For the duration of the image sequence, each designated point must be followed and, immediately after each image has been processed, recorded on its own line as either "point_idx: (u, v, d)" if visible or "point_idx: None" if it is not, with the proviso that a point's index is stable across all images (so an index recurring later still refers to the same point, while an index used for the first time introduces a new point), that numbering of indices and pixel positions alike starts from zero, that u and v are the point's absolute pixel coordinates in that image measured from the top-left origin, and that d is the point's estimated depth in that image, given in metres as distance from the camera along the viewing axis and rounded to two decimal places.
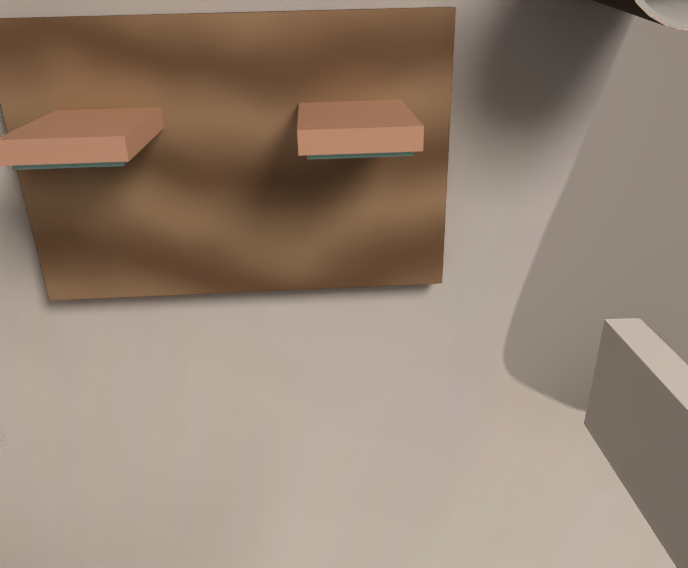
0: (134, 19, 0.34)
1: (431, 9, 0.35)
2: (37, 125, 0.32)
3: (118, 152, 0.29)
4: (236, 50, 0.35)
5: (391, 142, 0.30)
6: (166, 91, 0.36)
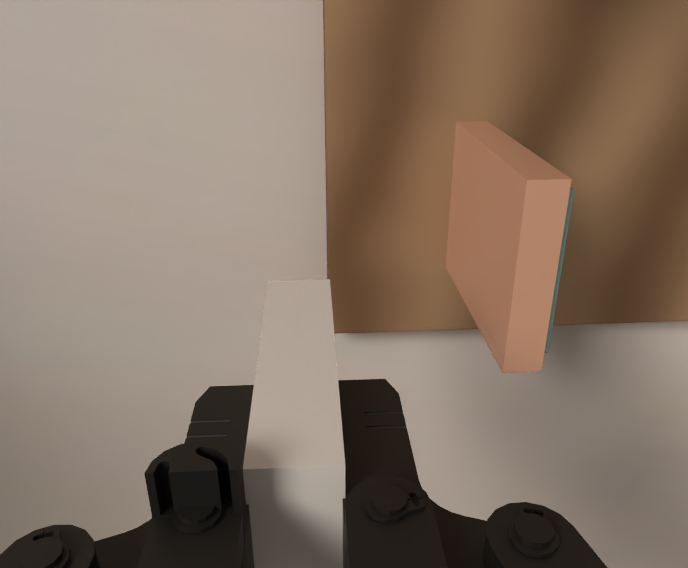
0: (332, 143, 0.24)
1: None
2: (475, 300, 0.22)
3: (553, 194, 0.17)
4: None
5: None
6: (434, 110, 0.23)
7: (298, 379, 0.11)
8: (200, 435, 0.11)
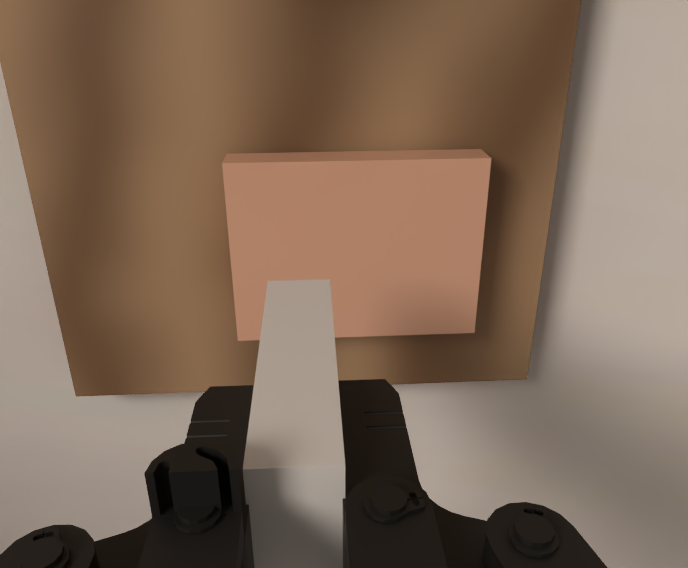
0: (33, 178, 0.20)
1: None
2: (373, 317, 0.21)
3: None
4: None
5: None
6: (152, 139, 0.19)
7: (298, 379, 0.11)
8: (200, 435, 0.11)
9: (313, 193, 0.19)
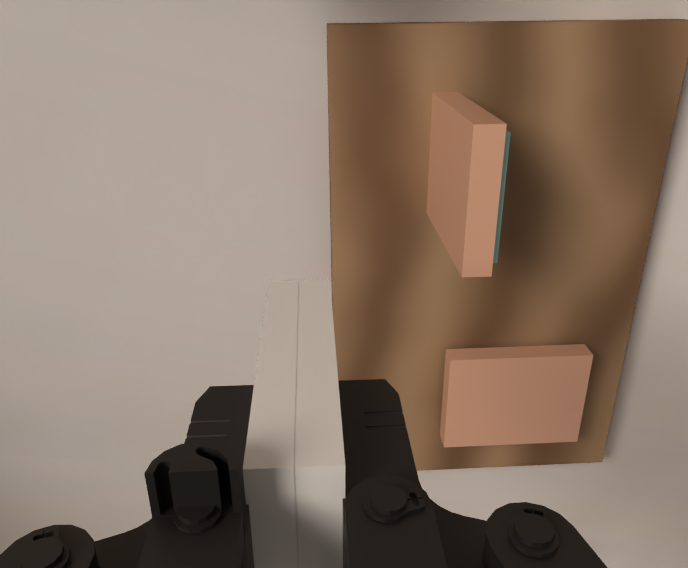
0: (337, 361, 0.35)
1: (329, 56, 0.29)
2: (521, 434, 0.37)
3: None
4: (368, 274, 0.33)
5: (489, 166, 0.23)
6: (405, 341, 0.35)
7: (298, 379, 0.11)
8: (200, 435, 0.11)
9: (496, 373, 0.35)
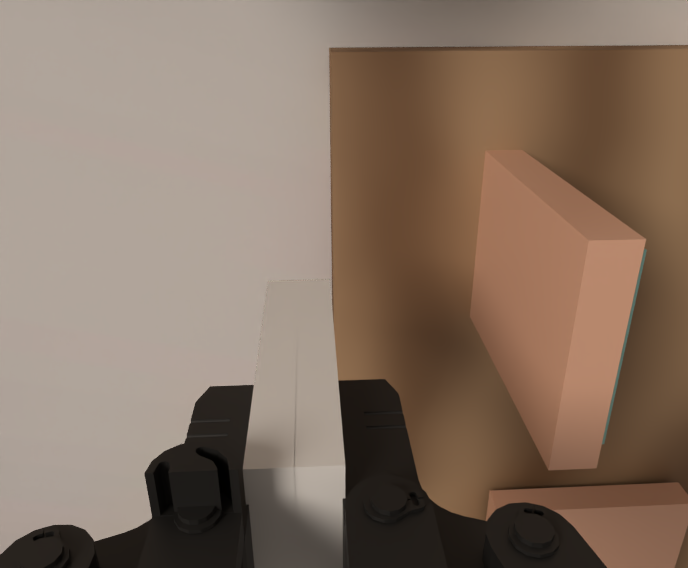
0: None
1: (334, 99, 0.19)
2: None
3: None
4: None
5: (610, 306, 0.13)
6: (434, 479, 0.26)
7: (298, 379, 0.11)
8: (200, 435, 0.11)
9: None
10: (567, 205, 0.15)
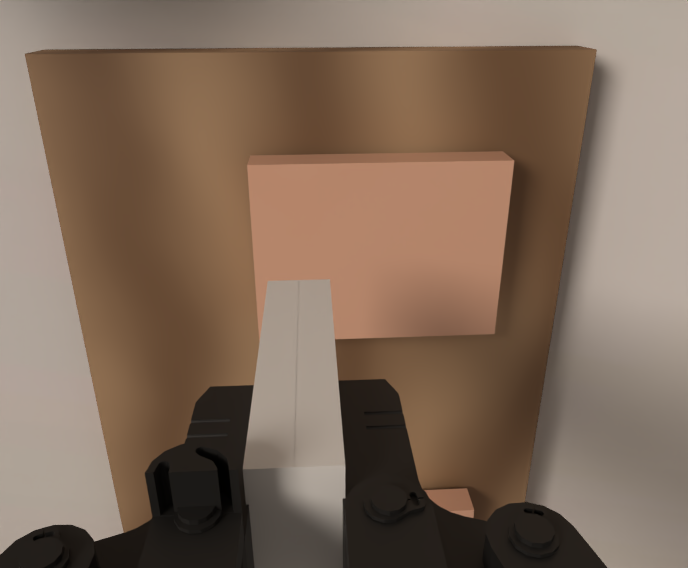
0: (124, 512, 0.26)
1: (37, 102, 0.19)
2: None
3: None
4: (149, 402, 0.23)
5: None
6: None
7: (298, 379, 0.11)
8: (200, 435, 0.11)
9: None
10: (436, 158, 0.19)
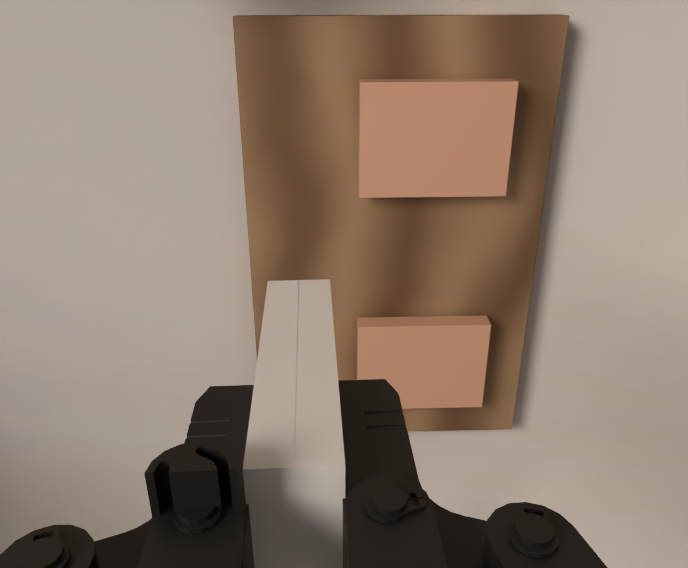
0: (258, 327, 0.39)
1: (236, 45, 0.32)
2: (428, 398, 0.40)
3: None
4: (282, 246, 0.36)
5: None
6: None
7: (298, 379, 0.11)
8: (200, 435, 0.11)
9: (401, 340, 0.38)
10: (471, 80, 0.32)
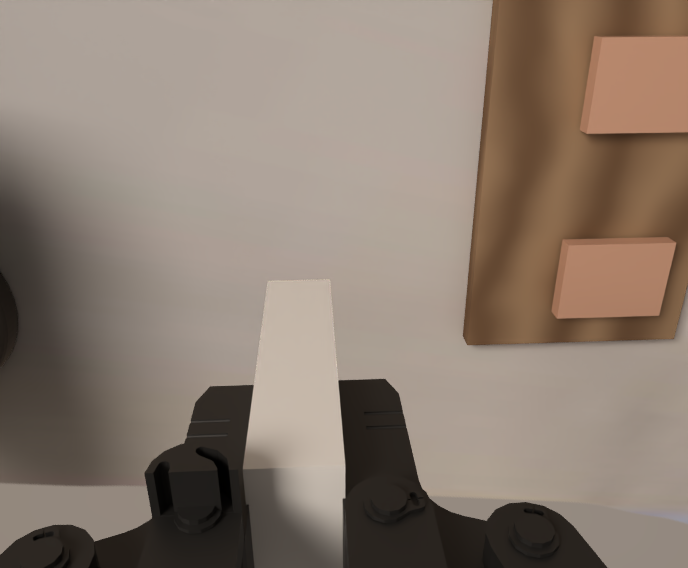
0: (478, 249, 0.46)
1: (499, 8, 0.39)
2: (616, 308, 0.47)
3: None
4: (509, 177, 0.44)
5: None
6: (531, 233, 0.46)
7: (298, 379, 0.11)
8: (200, 435, 0.11)
9: (602, 256, 0.46)
10: (687, 36, 0.40)
